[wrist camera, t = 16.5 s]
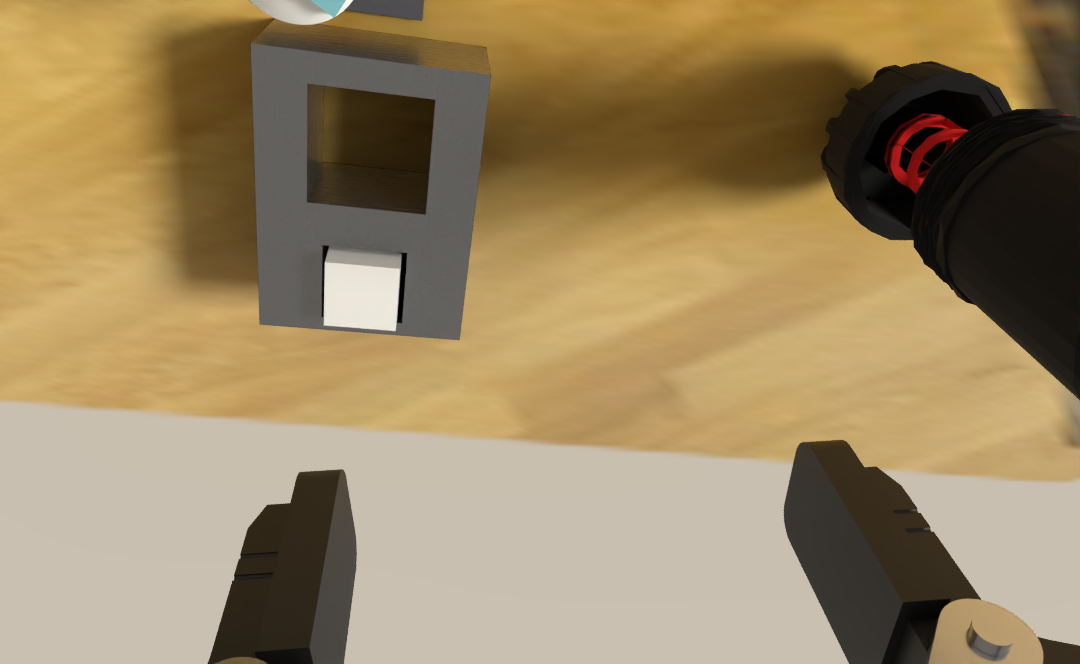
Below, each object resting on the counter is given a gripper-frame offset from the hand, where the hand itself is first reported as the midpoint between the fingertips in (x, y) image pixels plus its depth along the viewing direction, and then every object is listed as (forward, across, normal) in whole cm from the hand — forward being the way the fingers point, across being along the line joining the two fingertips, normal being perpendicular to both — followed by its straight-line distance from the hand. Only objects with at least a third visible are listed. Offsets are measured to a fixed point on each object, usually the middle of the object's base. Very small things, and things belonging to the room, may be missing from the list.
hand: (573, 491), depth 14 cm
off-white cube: (+32, +7, +11) cm, 35 cm away
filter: (+35, -23, +4) cm, 42 cm away
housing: (+34, +7, +6) cm, 36 cm away
